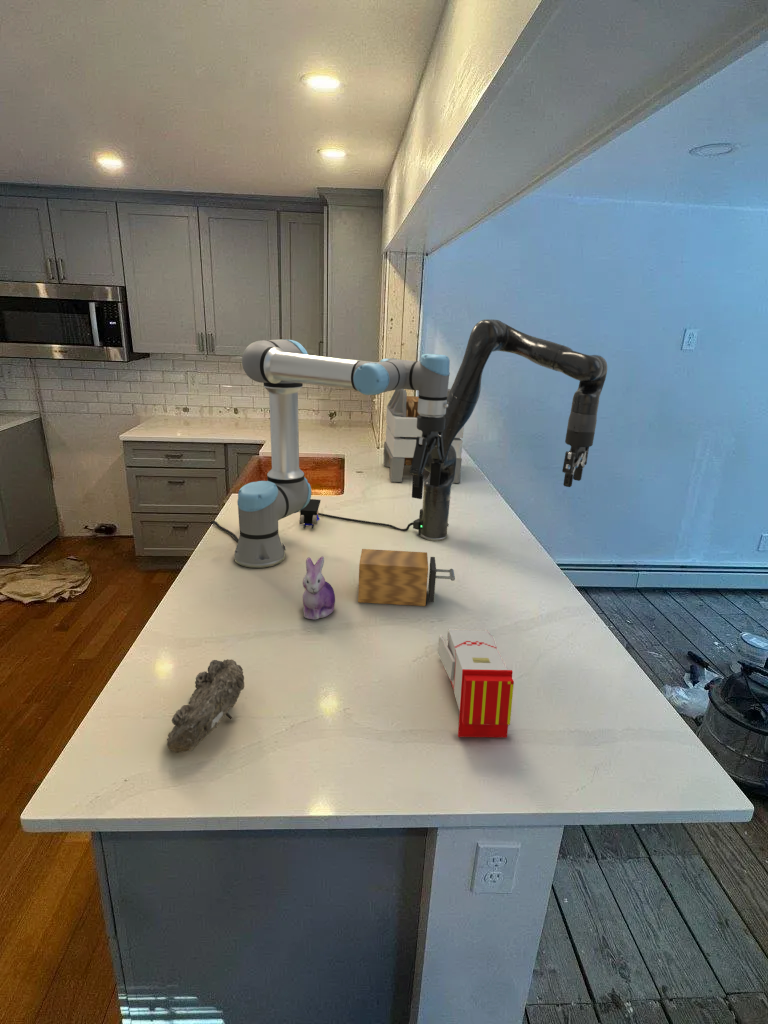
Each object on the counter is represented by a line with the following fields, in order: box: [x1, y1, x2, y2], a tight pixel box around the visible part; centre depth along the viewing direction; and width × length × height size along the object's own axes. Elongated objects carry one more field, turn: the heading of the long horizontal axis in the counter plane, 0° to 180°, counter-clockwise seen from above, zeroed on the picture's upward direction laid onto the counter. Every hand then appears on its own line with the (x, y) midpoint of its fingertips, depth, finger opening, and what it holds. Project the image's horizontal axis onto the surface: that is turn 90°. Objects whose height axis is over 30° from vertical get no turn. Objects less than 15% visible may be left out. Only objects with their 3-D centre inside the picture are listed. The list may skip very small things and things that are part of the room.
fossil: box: [166, 658, 245, 754], centre depth 106 cm, size 22×10×15 cm
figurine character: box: [298, 498, 322, 530], centre depth 204 cm, size 7×8×15 cm
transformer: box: [383, 388, 465, 484], centre depth 268 cm, size 34×33×41 cm
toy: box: [437, 628, 515, 738], centre depth 117 cm, size 12×13×30 cm
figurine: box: [302, 556, 336, 621], centre depth 144 cm, size 9×10×15 cm
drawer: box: [427, 556, 456, 603], centre depth 155 cm, size 22×9×10 cm, turn 88°
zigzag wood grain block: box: [357, 548, 429, 607], centre depth 155 cm, size 18×10×11 cm, turn 88°
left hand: (426, 491), depth 157 cm, fingers open, 13 cm apart
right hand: (572, 483), depth 165 cm, fingers open, 8 cm apart
